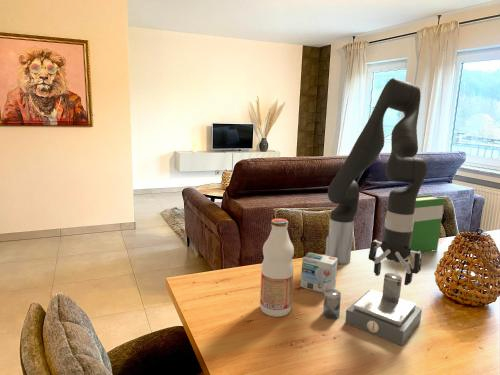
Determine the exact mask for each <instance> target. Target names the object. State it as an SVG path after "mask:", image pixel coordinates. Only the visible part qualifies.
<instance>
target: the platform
mask: <svg viewBox="0 0 500 375" xmlns="http://www.w3.org/2000/svg"><path fill="white" fill-rule="evenodd" d="M369 291H370V292H368V291H367V292H368V293H367V292H366V293H367V294H366V295H365V296H364V297H363V298H361V297H360V298H361V299H360V298H359V299H360V300H359V301H358V302H357V303H356V304H354V303H353V304H354V309H356V310H359V311H361V312H364V313H366V314H369V315H372V316H374V317H377V318H380V319H382V320H385V321H387V322H390V323H393V324H395V325H398V326H401V324H402V323H403V322H404V321H405V320H406V318H407V317H408V316H409V315H410V313H411V312H412V311H413V310H414V309H415V306H416V305H417V304H416V303H415V302H412V301H408V300H406V299H402V298H400V299H399V302H396V303H392V302H388V301H385V300H384V299H383V298H382V294H383V291H379V290H375V289H373V288H372V289H370V290H369ZM416 307H417V306H416Z"/></svg>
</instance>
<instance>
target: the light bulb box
mask: <svg viewBox="0 0 500 375" xmlns="http://www.w3.org/2000/svg"><path fill="white" fill-rule="evenodd" d="M301 261H302V262H301V277H300V287H301V288H305V289H308V290H312V291H316V292H319V293H322V294H324V291H325V290H327V289H335V288H336V284H337V283H336V282H337V271H338V264H337V261H338V258H335V257H330V256H325V254H322V253H321V254H320V253H314V252H311V251H308V252H307V253H306V254H305V255H304V256H303V257H302V259H301Z"/></svg>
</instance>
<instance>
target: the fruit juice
mask: <svg viewBox="0 0 500 375" xmlns="http://www.w3.org/2000/svg"><path fill="white" fill-rule="evenodd" d="M270 224H271V225H270V226H271V230H270V232H269V236H268V237H267V239H266V241H265V242H264V243H263V247H262V254H263V260H262V264H261V276H260V296H259V297H260V300H259V307H260V311H261V312H262V313H263V314H265V315H267V316H270V317H275V318H276V317H277V318H280V317H285V316H287V315H288V314H290V312H291V310H292V301H293V298H292V297H293V296H292V295H293V285H294V284H293V283H294V282H293V281H294V262H293V258H294V255H295V254H294V253H295V248H294V244H293V243H292V241H291V239H290V235H289V231H288V227H289V221H288V219H285V218H273V219H272V220H271V222H270Z"/></svg>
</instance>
